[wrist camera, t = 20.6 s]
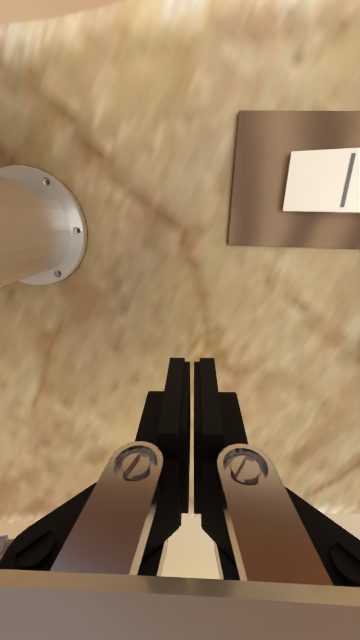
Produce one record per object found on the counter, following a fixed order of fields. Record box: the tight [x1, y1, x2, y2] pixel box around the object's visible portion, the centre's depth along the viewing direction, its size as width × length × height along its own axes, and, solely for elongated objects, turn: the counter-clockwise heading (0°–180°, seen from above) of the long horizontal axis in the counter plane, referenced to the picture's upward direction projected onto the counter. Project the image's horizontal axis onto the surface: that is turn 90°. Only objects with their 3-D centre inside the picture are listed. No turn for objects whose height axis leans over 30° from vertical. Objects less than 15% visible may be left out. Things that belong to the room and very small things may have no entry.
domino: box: [283, 148, 360, 213], centre depth 25 cm, size 2×5×10 cm
